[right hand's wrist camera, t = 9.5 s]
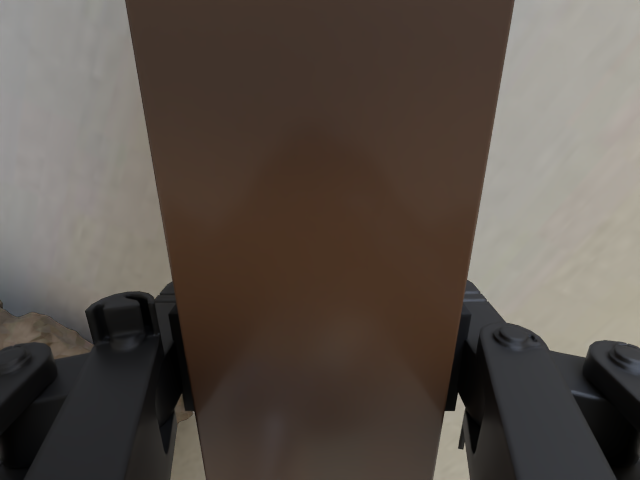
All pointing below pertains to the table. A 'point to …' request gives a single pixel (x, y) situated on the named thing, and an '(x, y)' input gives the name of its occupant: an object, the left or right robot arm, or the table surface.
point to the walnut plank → (319, 218)
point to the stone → (53, 340)
